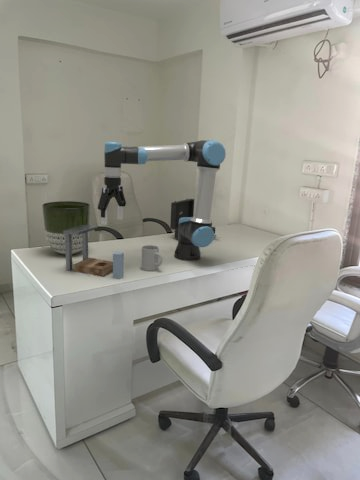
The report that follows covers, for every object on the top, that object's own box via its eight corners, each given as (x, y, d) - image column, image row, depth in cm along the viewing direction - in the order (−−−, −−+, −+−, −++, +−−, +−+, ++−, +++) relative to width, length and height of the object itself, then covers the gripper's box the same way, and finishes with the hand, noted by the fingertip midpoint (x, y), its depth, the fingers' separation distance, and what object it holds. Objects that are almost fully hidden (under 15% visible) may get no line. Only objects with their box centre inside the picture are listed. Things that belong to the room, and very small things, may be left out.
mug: (137, 268, 184) (138, 247, 181) (149, 264, 190) (150, 244, 188) (154, 274, 177) (155, 252, 174) (166, 270, 183) (167, 249, 180)
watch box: (206, 243, 237) (208, 206, 231) (169, 236, 250) (170, 201, 244) (222, 236, 259) (225, 201, 252) (187, 230, 272) (189, 197, 266)
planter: (99, 253, 204) (99, 205, 198) (59, 262, 187) (57, 210, 180) (75, 244, 220) (74, 200, 214) (36, 251, 203) (33, 203, 196)
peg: (123, 277, 171) (123, 252, 168) (119, 279, 168) (119, 254, 165) (116, 276, 172) (116, 251, 169) (113, 278, 169) (112, 253, 166)
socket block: (116, 270, 180) (116, 262, 179) (103, 277, 169) (103, 269, 168) (89, 265, 185) (89, 257, 184) (74, 272, 174) (74, 264, 173)
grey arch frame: (98, 265, 186) (97, 226, 181) (79, 274, 171) (77, 232, 166) (84, 262, 189) (84, 224, 183) (64, 272, 174) (63, 230, 169)
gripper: (120, 174, 182) (119, 216, 187) (89, 177, 159) (89, 225, 164) (133, 175, 179) (132, 218, 184) (103, 178, 156) (103, 227, 162)
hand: (112, 221), depth 174 cm, fingers open, 13 cm apart
